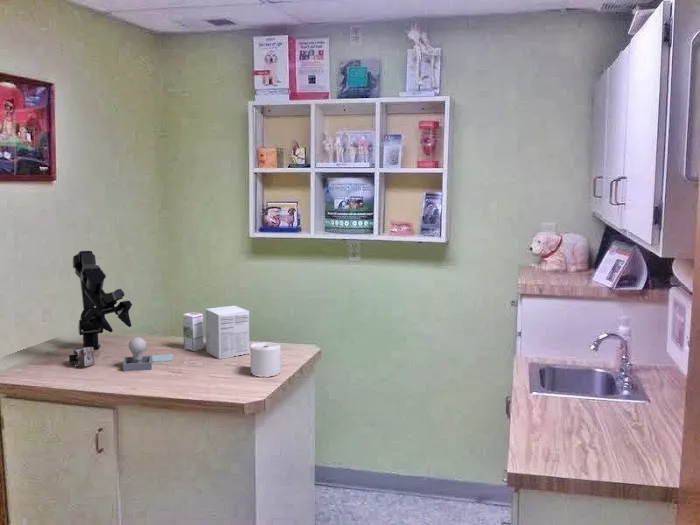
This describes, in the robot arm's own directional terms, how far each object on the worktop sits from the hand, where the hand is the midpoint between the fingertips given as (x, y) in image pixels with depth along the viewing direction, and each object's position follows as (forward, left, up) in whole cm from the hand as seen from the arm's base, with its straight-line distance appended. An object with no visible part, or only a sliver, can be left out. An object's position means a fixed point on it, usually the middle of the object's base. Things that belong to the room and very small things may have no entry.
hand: (121, 329), depth 248 cm
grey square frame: (+5, +6, -13) cm, 15 cm away
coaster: (-4, +14, -13) cm, 20 cm away
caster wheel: (-3, -15, -14) cm, 20 cm away
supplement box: (-7, +39, -13) cm, 42 cm away
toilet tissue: (+22, +50, -13) cm, 56 cm away
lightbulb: (+5, +6, -13) cm, 15 cm away
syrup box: (-16, +26, -13) cm, 33 cm away
